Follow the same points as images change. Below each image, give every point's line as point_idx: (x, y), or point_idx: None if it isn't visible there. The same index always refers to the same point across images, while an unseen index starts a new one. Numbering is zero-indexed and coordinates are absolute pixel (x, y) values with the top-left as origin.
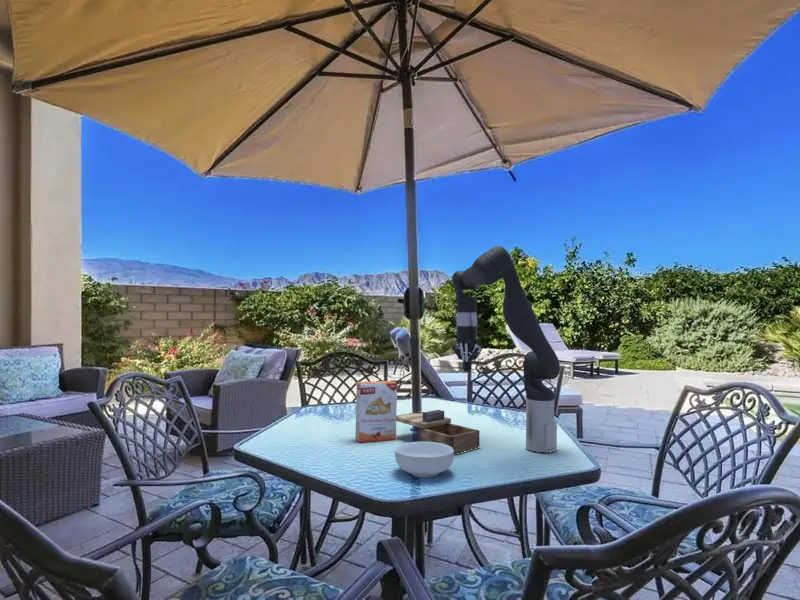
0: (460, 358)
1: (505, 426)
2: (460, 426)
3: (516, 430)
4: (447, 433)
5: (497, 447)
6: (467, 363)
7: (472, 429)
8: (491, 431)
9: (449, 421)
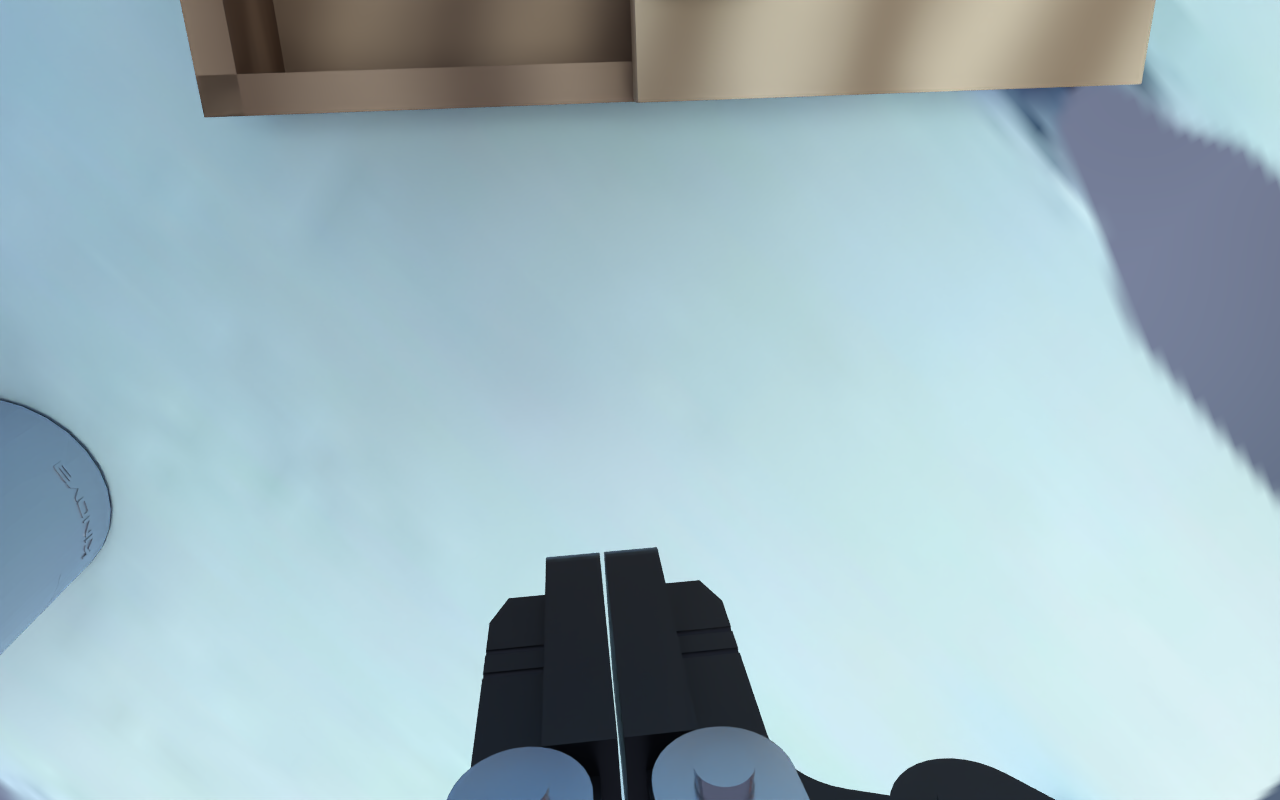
0: (900, 793)
1: None
2: (464, 82)
3: None
4: None
5: (210, 267)
6: (537, 735)
7: (284, 90)
8: None
9: (634, 75)
